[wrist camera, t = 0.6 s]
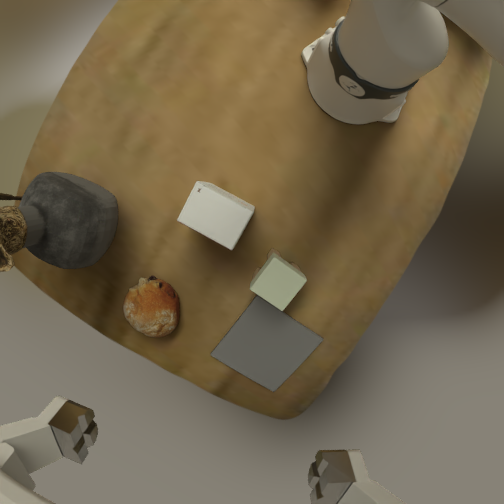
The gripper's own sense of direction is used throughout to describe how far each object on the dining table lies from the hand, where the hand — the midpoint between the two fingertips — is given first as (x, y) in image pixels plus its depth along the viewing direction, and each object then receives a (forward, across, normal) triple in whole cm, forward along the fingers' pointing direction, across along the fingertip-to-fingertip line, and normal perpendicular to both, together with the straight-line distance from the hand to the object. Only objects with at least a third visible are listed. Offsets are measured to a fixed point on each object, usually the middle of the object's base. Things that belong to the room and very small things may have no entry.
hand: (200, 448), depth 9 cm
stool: (+39, -5, +3) cm, 39 cm away
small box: (+39, +4, -5) cm, 40 cm away
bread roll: (+39, +14, +12) cm, 44 cm away
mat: (+39, -6, +17) cm, 43 cm away
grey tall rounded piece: (+39, +28, -2) cm, 48 cm away
